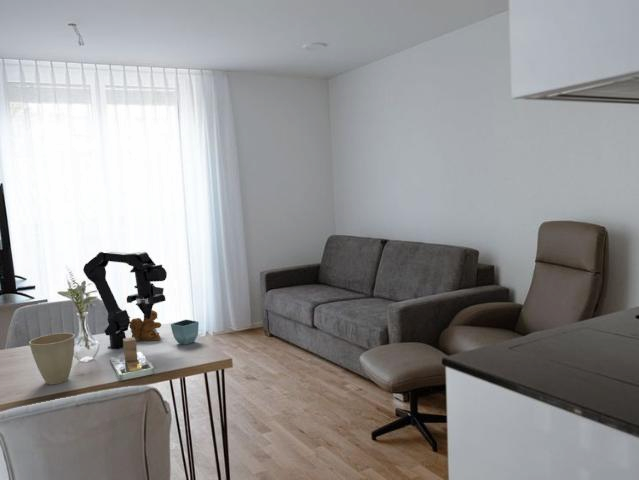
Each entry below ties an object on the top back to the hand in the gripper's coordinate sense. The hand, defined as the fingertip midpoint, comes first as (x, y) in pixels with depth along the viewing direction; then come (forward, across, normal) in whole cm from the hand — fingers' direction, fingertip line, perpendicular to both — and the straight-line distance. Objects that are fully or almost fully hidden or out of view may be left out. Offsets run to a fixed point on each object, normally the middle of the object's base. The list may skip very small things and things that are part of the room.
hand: (148, 318), depth 235 cm
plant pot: (+13, +2, +42) cm, 44 cm away
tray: (+14, -22, +25) cm, 36 cm away
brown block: (+13, -16, +22) cm, 30 cm away
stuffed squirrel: (+13, +16, -9) cm, 22 cm away
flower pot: (+14, -6, -13) cm, 20 cm away
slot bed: (+14, -10, +19) cm, 25 cm away
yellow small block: (+13, -22, +25) cm, 36 cm away
